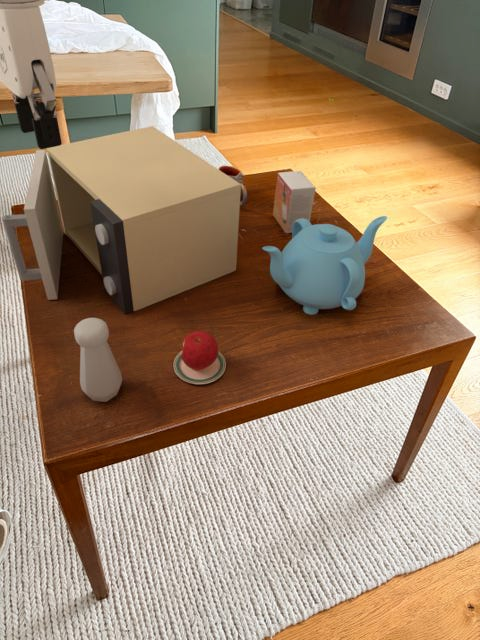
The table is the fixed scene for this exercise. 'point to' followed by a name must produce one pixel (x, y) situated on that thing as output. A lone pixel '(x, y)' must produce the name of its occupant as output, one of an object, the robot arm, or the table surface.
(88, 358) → the salt shaker
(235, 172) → the mug
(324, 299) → the teapot
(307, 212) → the small box
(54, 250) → the microwave door
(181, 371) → the apple
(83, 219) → the microwave
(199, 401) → the table surface
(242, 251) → the table surface
